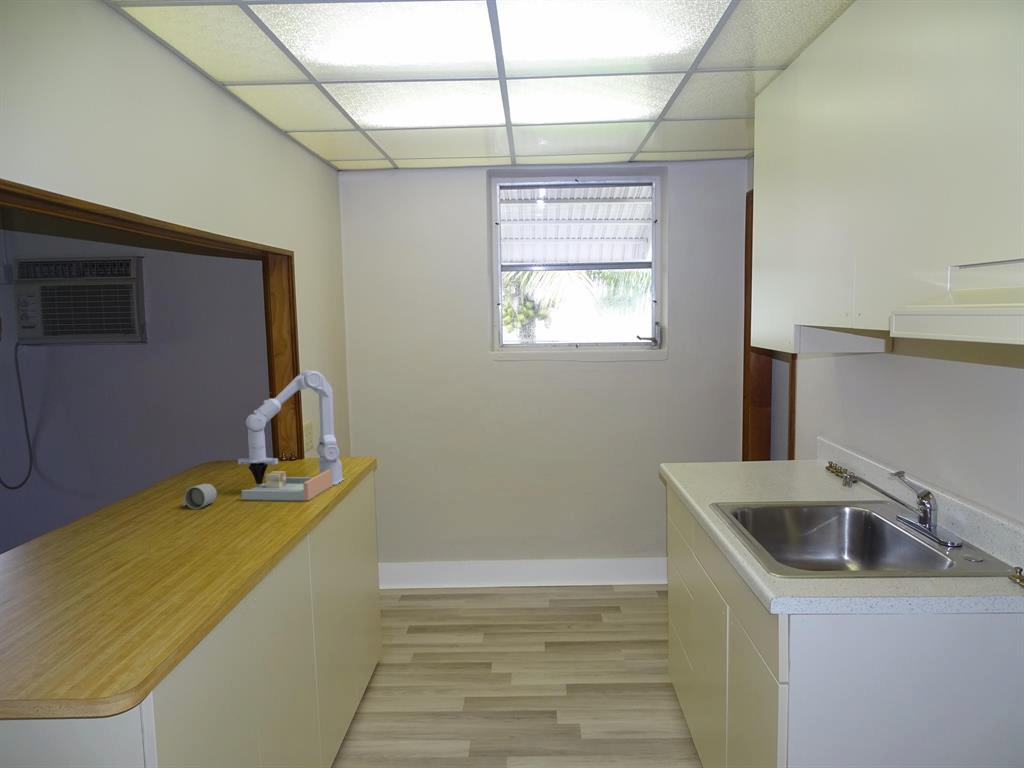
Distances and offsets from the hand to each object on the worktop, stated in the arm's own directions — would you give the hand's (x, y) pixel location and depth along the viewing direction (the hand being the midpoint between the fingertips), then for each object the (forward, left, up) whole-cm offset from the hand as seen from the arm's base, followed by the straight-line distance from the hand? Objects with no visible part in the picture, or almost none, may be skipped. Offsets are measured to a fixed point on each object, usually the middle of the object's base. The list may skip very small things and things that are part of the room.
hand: (259, 483), depth 248 cm
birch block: (0, +6, -1) cm, 7 cm away
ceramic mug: (+18, -13, -4) cm, 22 cm away
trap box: (0, +11, -3) cm, 12 cm away
